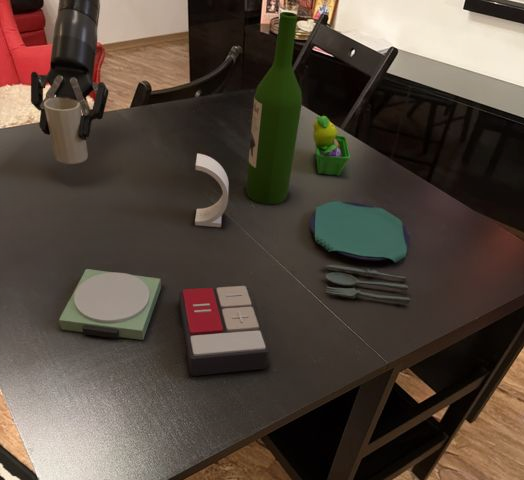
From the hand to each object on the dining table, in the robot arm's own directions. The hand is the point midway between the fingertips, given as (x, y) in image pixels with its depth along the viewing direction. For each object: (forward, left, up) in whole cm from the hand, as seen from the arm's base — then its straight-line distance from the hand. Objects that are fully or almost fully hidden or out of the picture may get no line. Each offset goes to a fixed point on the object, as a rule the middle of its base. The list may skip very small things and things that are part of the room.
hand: (64, 135), depth 90 cm
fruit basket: (+52, +24, -10) cm, 58 cm away
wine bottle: (+39, +7, -10) cm, 41 cm away
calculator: (+35, -37, -10) cm, 52 cm away
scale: (+18, -34, -10) cm, 40 cm away
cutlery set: (+58, -10, -10) cm, 60 cm away
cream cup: (0, +2, -5) cm, 5 cm away
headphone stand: (+29, -6, -10) cm, 31 cm away
